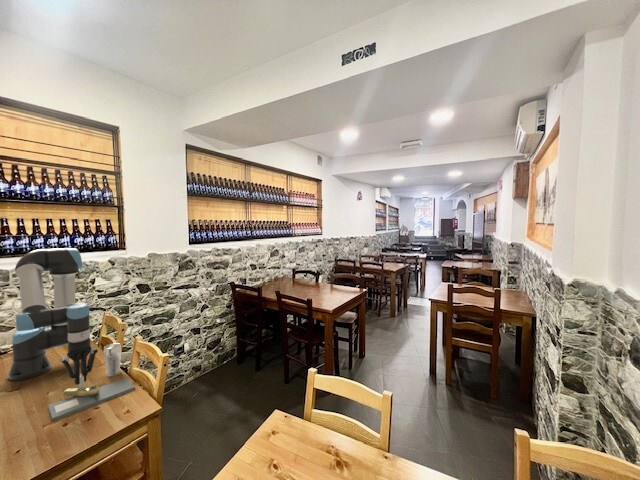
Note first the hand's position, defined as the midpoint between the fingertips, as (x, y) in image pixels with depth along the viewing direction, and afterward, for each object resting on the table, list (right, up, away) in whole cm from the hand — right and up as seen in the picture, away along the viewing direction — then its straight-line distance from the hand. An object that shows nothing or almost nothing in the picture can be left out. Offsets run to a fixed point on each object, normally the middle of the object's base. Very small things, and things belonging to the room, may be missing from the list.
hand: (81, 389), depth 123 cm
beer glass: (+1, -2, +18) cm, 18 cm away
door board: (+8, -3, -2) cm, 8 cm away
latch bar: (+2, -1, -2) cm, 4 cm away
